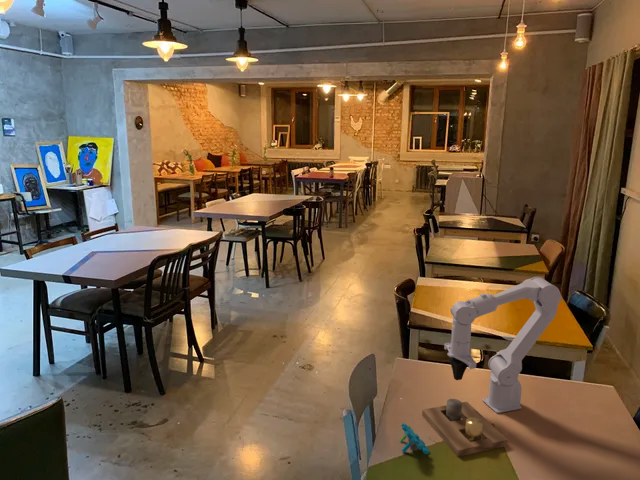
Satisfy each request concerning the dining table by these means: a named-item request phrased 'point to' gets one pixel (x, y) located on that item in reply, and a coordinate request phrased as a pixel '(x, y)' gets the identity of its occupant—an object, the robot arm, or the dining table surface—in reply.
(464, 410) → the walnut jig
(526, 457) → the dining table surface
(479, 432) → the brass sleeve
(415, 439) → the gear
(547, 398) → the dining table surface
